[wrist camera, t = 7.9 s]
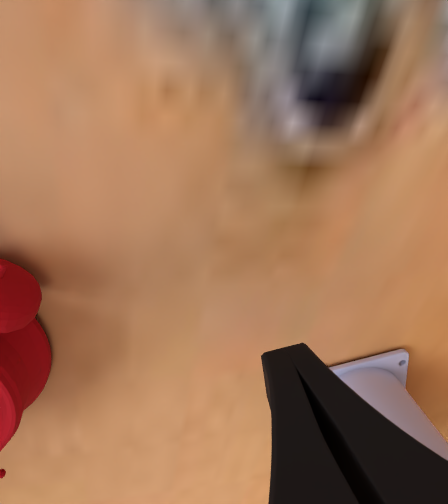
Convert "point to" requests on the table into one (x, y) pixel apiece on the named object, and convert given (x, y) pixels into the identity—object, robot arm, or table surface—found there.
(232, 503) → the table surface
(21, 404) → the alarm clock
